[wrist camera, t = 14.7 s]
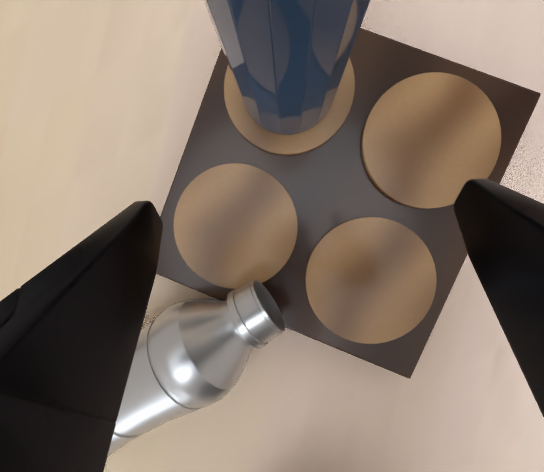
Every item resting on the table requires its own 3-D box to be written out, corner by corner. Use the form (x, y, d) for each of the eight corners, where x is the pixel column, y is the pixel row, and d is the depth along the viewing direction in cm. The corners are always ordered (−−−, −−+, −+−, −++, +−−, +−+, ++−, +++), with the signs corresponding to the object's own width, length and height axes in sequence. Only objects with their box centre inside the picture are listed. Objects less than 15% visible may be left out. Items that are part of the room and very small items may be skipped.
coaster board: (520, 103, 18) (548, 89, 16) (400, 367, 19) (413, 383, 17) (247, 3, 19) (242, -21, 17) (152, 264, 20) (137, 268, 18)
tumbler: (355, 82, 17) (557, -339, 4) (290, 154, 17) (296, -26, 5) (285, 18, 17) (274, -584, 4) (222, 92, 17) (47, -251, 5)
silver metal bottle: (0, 391, 19) (231, 240, 17) (85, 418, 23) (281, 296, 21) (-77, 517, 13) (247, 316, 12) (51, 524, 17) (310, 374, 15)
